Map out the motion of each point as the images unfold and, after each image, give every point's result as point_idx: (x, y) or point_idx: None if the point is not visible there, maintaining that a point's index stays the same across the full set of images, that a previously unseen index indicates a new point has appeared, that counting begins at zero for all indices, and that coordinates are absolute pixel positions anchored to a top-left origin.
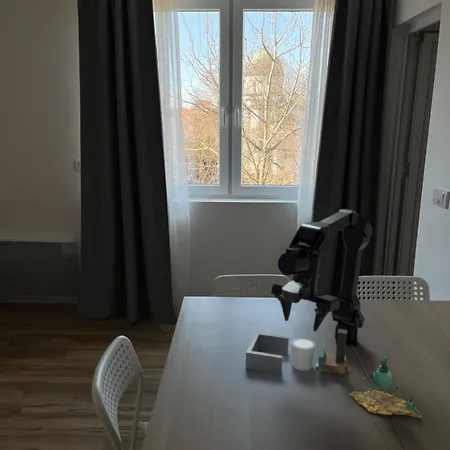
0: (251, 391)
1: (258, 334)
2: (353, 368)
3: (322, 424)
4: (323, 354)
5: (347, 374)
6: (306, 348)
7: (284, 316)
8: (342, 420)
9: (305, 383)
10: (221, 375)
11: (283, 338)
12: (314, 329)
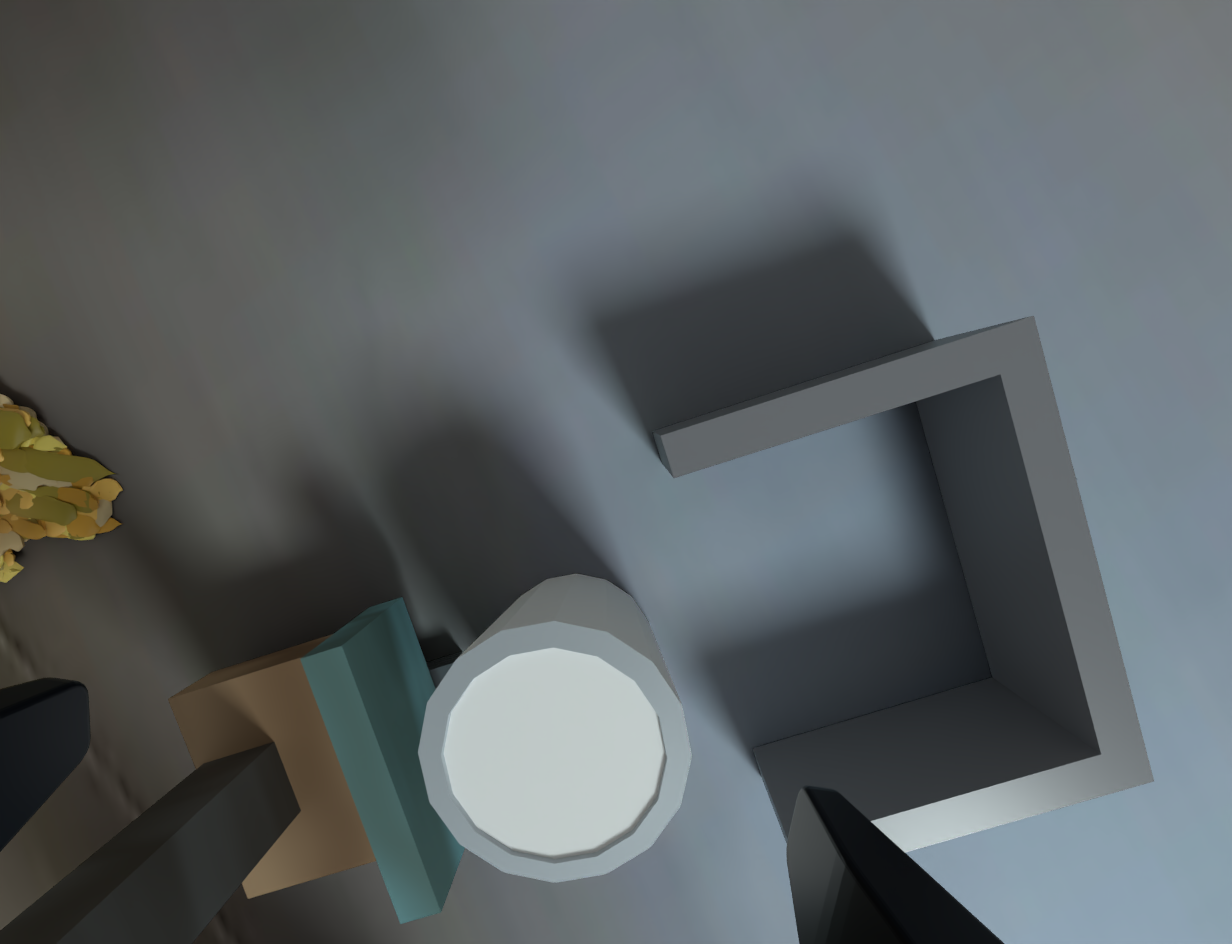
0: (730, 71)
1: (1104, 745)
2: None
3: (119, 17)
4: (323, 712)
5: None
6: (472, 667)
7: (894, 856)
8: (31, 148)
9: (440, 425)
10: (1051, 124)
11: None
12: (7, 691)
